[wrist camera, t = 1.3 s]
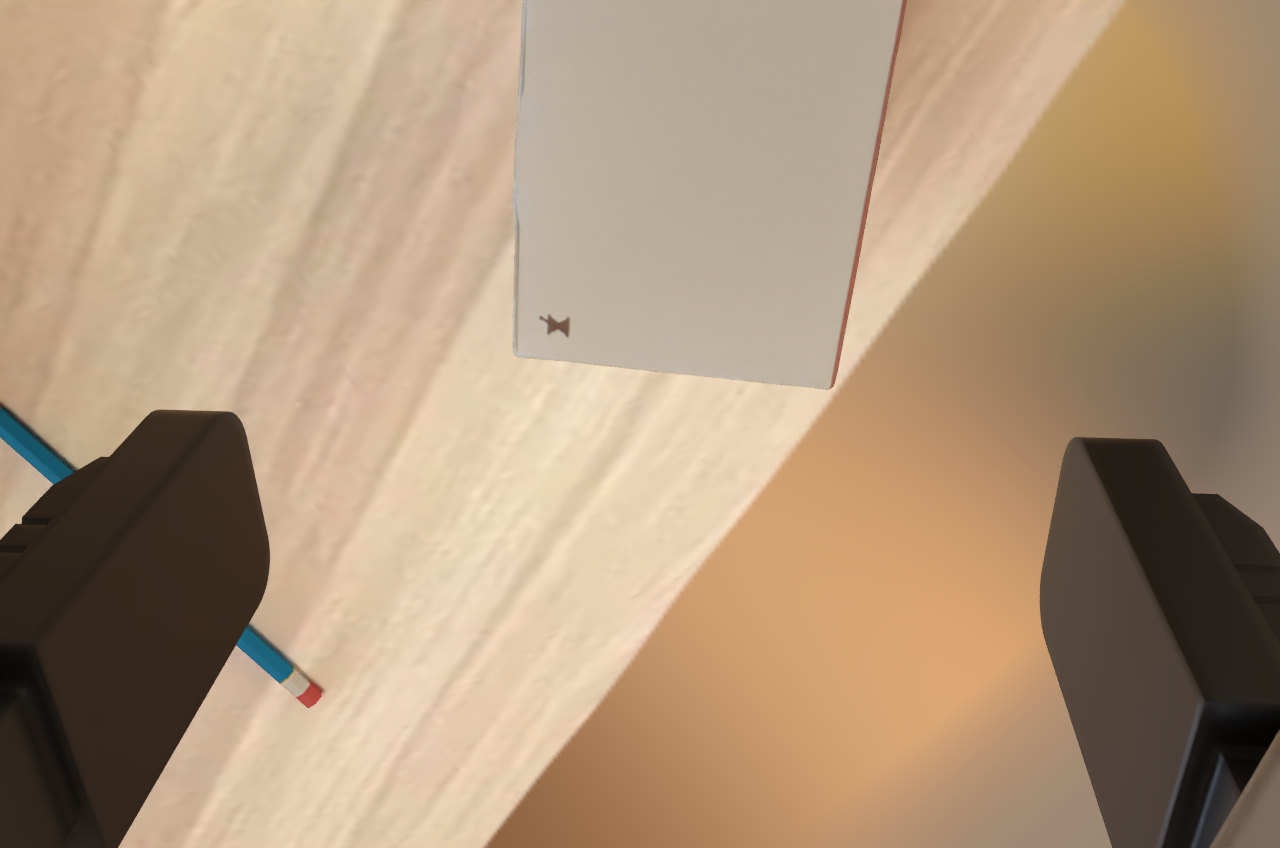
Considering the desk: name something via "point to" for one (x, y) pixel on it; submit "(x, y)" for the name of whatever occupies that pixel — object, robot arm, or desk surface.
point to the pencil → (249, 641)
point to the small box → (696, 181)
